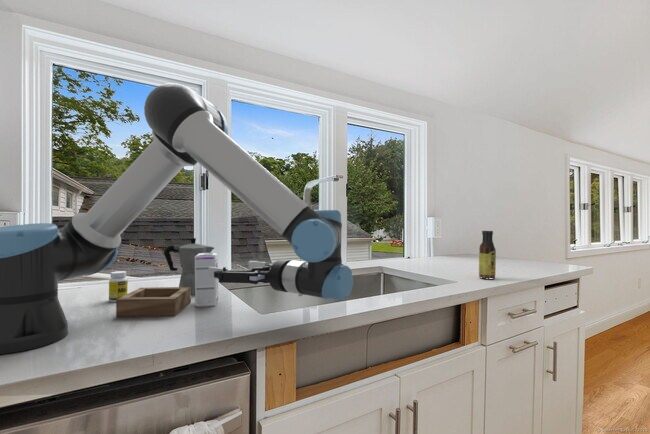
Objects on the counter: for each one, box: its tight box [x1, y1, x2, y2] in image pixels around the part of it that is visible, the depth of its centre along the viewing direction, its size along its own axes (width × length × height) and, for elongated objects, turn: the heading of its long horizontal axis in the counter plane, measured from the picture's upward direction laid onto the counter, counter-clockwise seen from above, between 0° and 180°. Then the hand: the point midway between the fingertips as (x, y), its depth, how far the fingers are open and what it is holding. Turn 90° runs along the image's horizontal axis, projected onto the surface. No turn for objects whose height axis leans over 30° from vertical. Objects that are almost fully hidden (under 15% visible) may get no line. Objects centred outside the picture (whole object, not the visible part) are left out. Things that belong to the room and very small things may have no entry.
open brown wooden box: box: [115, 286, 192, 319], centre depth 94 cm, size 14×14×4 cm
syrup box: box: [194, 252, 219, 308], centre depth 100 cm, size 6×6×14 cm
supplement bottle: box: [108, 270, 129, 303], centre depth 103 cm, size 5×5×8 cm
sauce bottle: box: [478, 230, 497, 279], centre depth 144 cm, size 6×6×20 cm
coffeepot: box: [163, 237, 215, 296], centre depth 114 cm, size 15×9×18 cm, turn 108°
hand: (230, 268), depth 94 cm, fingers open, 13 cm apart
